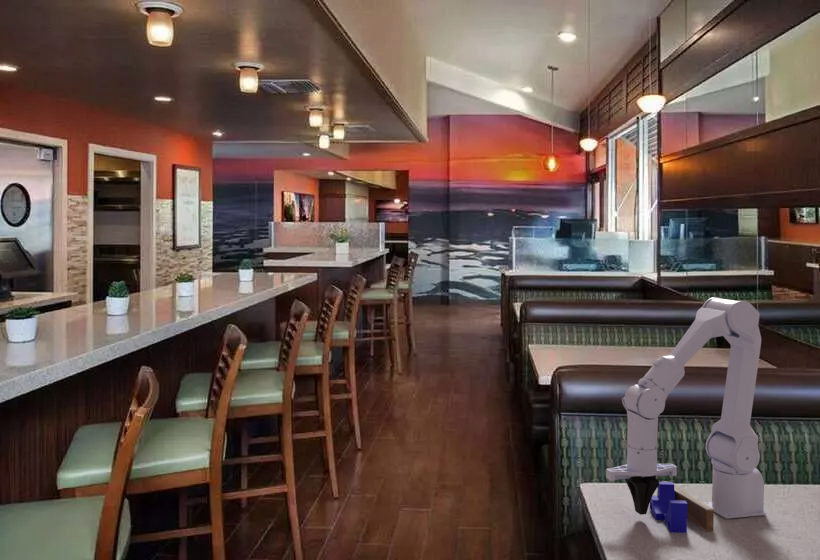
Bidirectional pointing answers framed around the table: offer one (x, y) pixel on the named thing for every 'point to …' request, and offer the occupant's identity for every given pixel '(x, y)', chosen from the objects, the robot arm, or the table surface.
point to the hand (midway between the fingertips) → (640, 512)
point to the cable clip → (669, 508)
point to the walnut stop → (696, 510)
